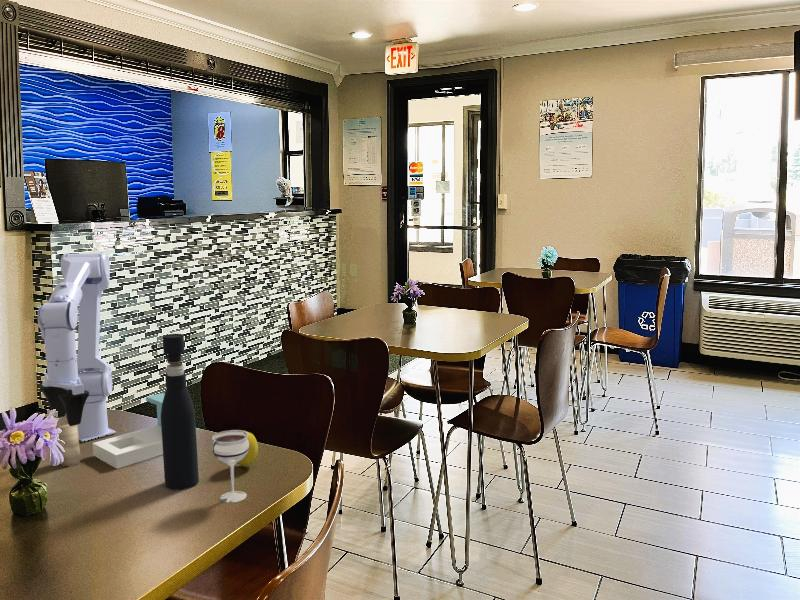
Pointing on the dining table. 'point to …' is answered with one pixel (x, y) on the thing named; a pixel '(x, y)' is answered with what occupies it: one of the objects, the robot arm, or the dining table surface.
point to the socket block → (133, 442)
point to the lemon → (250, 451)
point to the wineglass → (231, 456)
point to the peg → (70, 444)
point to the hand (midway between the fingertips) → (67, 420)
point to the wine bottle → (178, 421)
